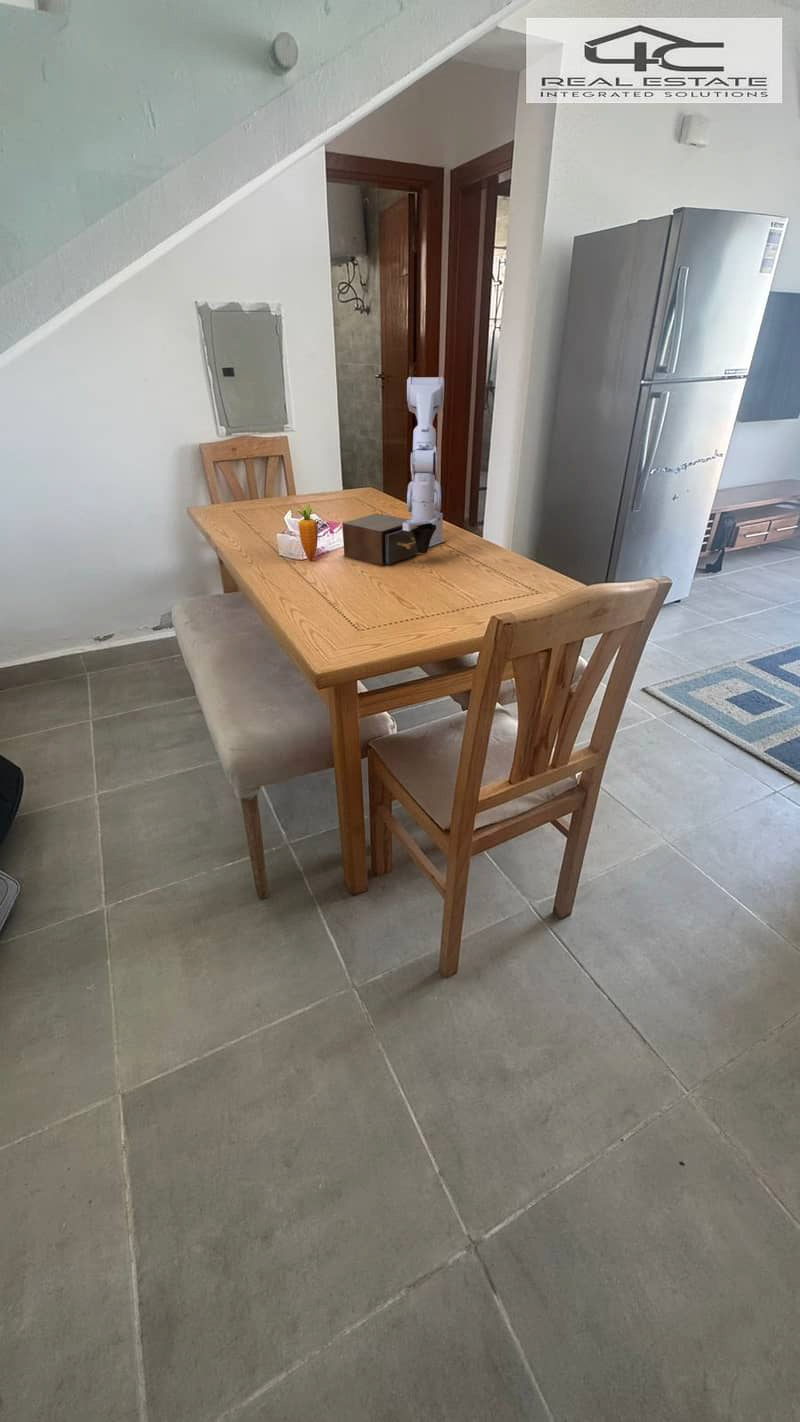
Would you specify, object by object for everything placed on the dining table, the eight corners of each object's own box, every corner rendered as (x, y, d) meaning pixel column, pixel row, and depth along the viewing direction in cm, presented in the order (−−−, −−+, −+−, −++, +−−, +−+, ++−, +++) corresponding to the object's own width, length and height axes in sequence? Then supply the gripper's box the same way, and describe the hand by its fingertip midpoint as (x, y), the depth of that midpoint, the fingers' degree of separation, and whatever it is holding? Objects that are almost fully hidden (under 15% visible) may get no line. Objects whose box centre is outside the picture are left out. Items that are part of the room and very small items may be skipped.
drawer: (432, 555, 169) (433, 528, 165) (402, 567, 160) (402, 538, 156) (383, 544, 179) (383, 517, 175) (352, 554, 170) (351, 527, 166)
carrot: (311, 564, 165) (306, 508, 157) (298, 561, 168) (292, 505, 160) (323, 560, 169) (319, 504, 161) (310, 557, 171) (306, 502, 163)
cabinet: (415, 554, 173) (415, 520, 168) (382, 566, 164) (381, 531, 159) (377, 545, 181) (377, 513, 176) (344, 556, 172) (342, 522, 167)
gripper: (418, 507, 148) (417, 562, 155) (452, 497, 158) (450, 549, 165) (396, 503, 152) (396, 556, 159) (430, 493, 161) (430, 544, 168)
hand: (422, 552), depth 162 cm, fingers closed, pressing on drawer
